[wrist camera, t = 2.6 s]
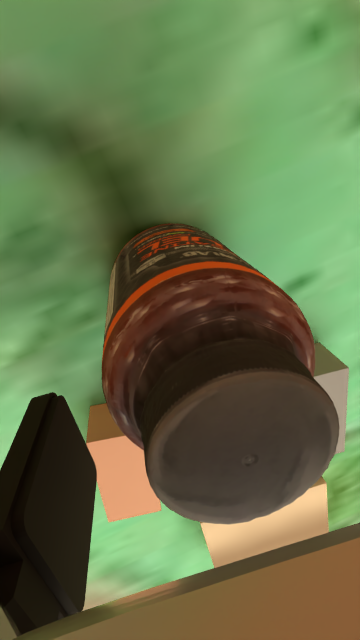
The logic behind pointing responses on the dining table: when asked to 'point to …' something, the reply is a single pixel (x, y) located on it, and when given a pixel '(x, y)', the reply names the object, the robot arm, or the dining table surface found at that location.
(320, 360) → the brick slate
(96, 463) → the brick terracotta
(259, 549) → the oak slab
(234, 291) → the supplement bottle
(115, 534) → the dining table surface
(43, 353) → the dining table surface
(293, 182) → the dining table surface
